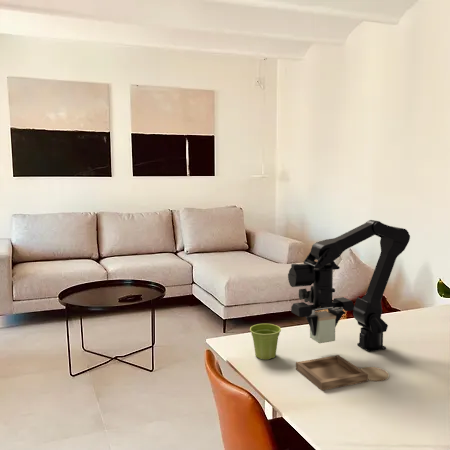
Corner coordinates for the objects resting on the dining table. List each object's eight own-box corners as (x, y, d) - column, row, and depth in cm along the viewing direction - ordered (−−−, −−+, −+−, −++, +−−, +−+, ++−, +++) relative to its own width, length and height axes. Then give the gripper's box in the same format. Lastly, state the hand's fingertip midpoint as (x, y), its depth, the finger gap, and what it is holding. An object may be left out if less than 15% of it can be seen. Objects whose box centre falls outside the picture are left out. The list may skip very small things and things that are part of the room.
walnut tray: (338, 361, 141) (338, 355, 141) (367, 381, 128) (367, 374, 128) (295, 369, 137) (295, 362, 136) (321, 390, 123) (321, 382, 123)
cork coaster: (370, 366, 138) (370, 364, 138) (394, 376, 131) (394, 374, 131) (352, 373, 133) (352, 371, 133) (375, 383, 127) (375, 382, 127)
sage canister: (325, 334, 150) (325, 310, 150) (335, 341, 145) (336, 316, 144) (309, 337, 149) (309, 312, 148) (319, 343, 143) (319, 318, 142)
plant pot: (279, 363, 141) (279, 334, 140) (247, 361, 143) (247, 333, 142) (282, 351, 150) (282, 324, 149) (252, 349, 152) (252, 322, 151)
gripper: (335, 275, 155) (334, 322, 157) (283, 281, 149) (283, 329, 151) (355, 283, 145) (354, 333, 147) (300, 289, 139) (300, 341, 141)
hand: (322, 334), depth 147 cm, fingers closed on sage canister, 5 cm apart
